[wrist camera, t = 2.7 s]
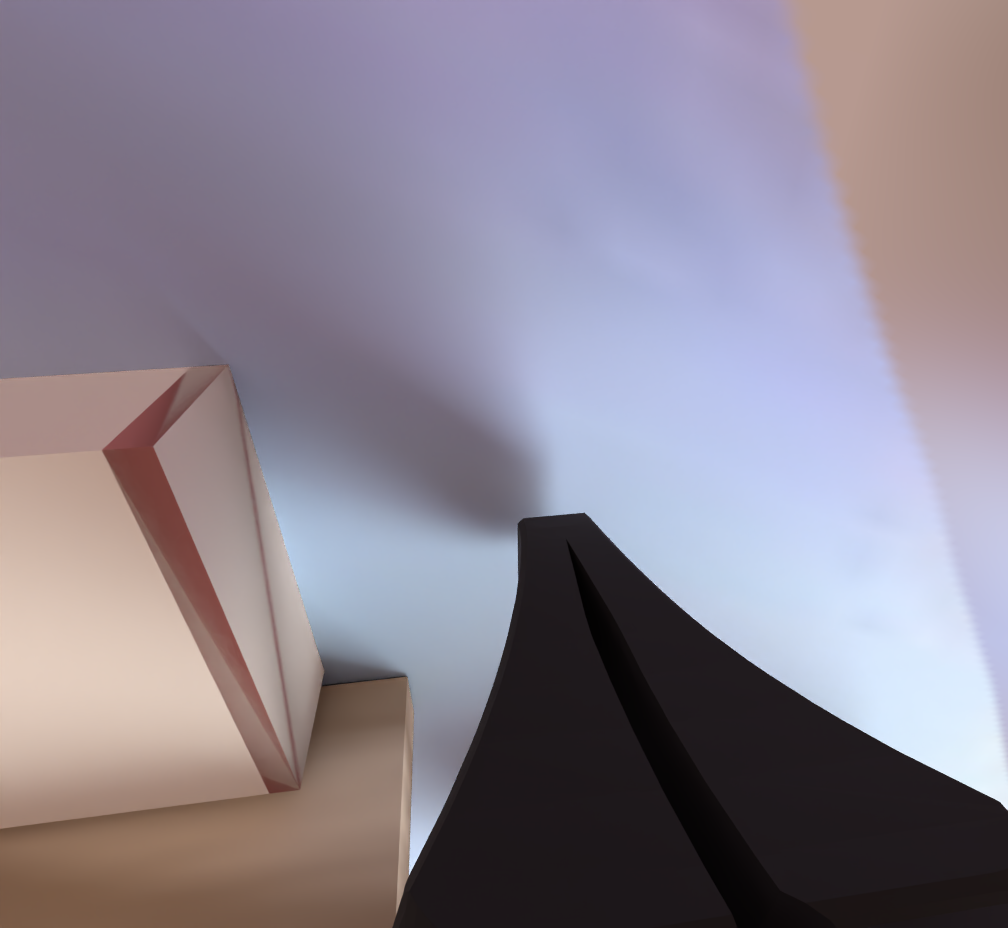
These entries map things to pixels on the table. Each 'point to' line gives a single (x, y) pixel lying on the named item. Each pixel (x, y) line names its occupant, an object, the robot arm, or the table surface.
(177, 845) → the shelf
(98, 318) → the table surface
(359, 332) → the table surface
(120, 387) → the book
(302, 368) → the table surface
